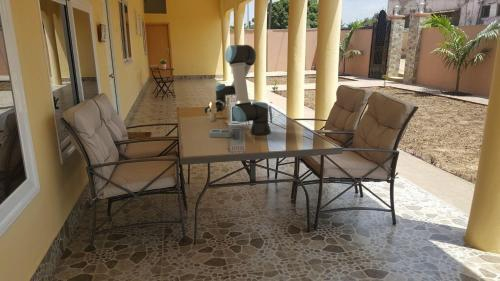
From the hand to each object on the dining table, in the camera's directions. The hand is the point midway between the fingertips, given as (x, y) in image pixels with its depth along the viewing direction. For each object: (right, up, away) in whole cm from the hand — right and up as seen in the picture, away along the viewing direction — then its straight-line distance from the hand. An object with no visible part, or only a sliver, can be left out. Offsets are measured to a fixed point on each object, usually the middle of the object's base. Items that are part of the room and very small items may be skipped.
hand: (211, 111), depth 259 cm
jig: (+6, -17, +10) cm, 20 cm away
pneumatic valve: (-7, -1, +70) cm, 70 cm away
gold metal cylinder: (+1, -7, +7) cm, 10 cm away
